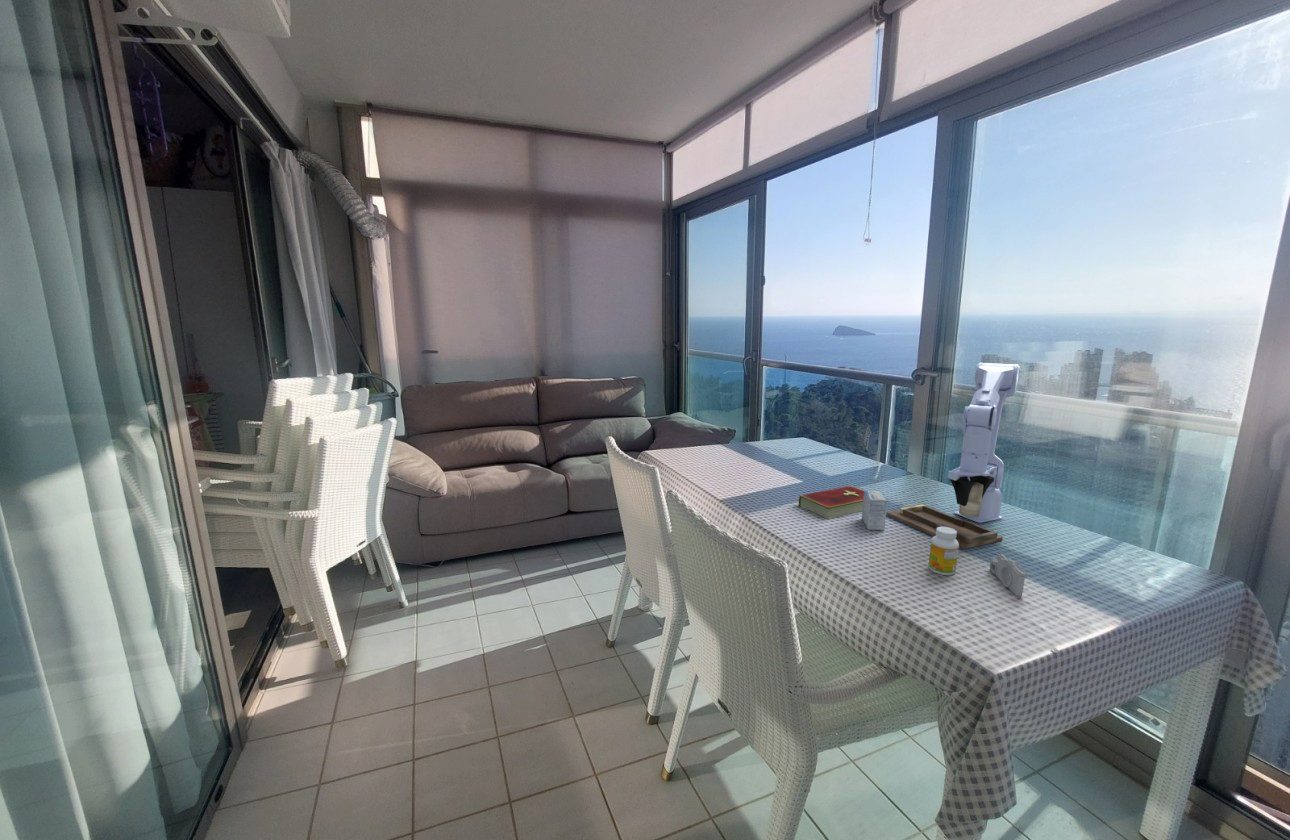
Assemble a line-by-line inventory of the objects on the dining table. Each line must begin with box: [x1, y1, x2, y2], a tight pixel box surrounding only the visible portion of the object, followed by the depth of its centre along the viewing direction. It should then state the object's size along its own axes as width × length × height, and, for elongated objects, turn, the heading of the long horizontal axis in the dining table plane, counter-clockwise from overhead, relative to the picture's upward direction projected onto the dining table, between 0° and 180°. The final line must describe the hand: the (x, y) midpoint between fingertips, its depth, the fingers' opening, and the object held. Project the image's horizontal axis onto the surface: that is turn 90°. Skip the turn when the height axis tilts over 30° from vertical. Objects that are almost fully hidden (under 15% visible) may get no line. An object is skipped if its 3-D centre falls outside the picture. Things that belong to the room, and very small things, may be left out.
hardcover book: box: [798, 485, 865, 519], centre depth 156 cm, size 12×21×4 cm, turn 116°
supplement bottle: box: [928, 527, 960, 576], centre depth 117 cm, size 5×5×10 cm
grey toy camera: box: [989, 553, 1029, 597], centre depth 111 cm, size 12×2×6 cm, turn 170°
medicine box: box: [861, 490, 888, 531], centre depth 142 cm, size 8×4×9 cm, turn 168°
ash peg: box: [958, 482, 984, 517], centre depth 132 cm, size 4×4×8 cm
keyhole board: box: [886, 503, 1003, 550], centre depth 141 cm, size 14×24×2 cm, turn 20°
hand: (968, 503), depth 133 cm, fingers closed on ash peg, 4 cm apart
